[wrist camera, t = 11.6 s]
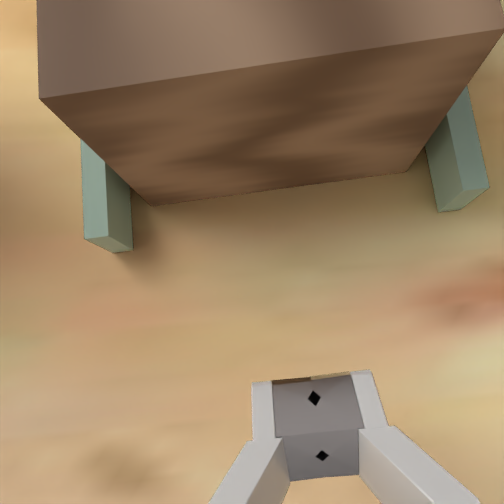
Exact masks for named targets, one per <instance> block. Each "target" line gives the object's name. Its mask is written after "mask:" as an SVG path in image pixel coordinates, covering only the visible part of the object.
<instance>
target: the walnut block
mask: <svg viewBox="0 0 504 504" xmlns="http://www.w3.org/2000/svg"><path fill="white" fill-rule="evenodd" d="M503 33H504V15H503V11H502V7H501V3H500V0H37V40H38V82H39V99H40V100H41V101H42V102H43V103H44V104H45V105H46V106H47V107H48V108H49V109H50V110H51V111H52V112H53V113H54V114H55V115H56V116H58V117H59V118H60V119H61V120H62V121H63V122H64V123H65V124H66V125H67V126H68V127H69V128H70V129H71V130H72V131H73V132H74V133H75V134H76V135H77V136H78V137H79V138H80V139H82V140H83V141H84V142H85V143H86V144H87V145H88V146H89V147H90V148H91V149H92V150H93V151H94V152H95V153H96V154H97V155H98V156H99V157H100V158H101V159H102V160H103V161H105V162H106V163H107V164H108V165H109V166H110V167H111V168H112V169H113V170H114V171H115V172H116V173H117V174H118V175H119V176H120V177H121V178H122V179H123V180H124V181H125V182H126V183H127V184H129V185H130V186H131V187H132V188H133V189H134V190H135V191H136V192H137V193H138V194H139V195H140V196H141V197H142V198H143V199H144V200H145V201H146V202H147V203H148V204H149V205H150V206H156V205H163V204H171V203H178V202H186V201H193V200H200V199H208V198H215V197H223V196H230V195H238V194H245V193H252V192H260V191H267V190H275V189H282V188H289V187H297V186H304V185H312V184H319V183H327V182H334V181H341V180H349V179H356V178H364V177H371V176H379V175H386V174H393V173H401V172H406V171H407V170H408V169H409V167H410V166H411V164H412V163H413V161H414V160H415V158H416V157H417V156H418V154H419V153H420V151H421V150H422V148H423V147H424V146H425V144H426V143H427V141H428V140H429V138H430V137H431V136H432V134H433V133H434V131H435V130H436V128H437V127H438V126H439V124H440V123H441V121H442V120H443V118H444V117H445V116H446V114H447V113H448V111H449V110H450V108H451V107H452V106H453V104H454V103H455V101H456V100H457V98H458V97H459V96H460V94H461V93H462V91H463V90H464V88H465V87H466V86H467V84H468V83H469V81H470V80H471V78H472V77H473V76H474V74H475V73H476V71H477V70H478V68H479V67H480V66H481V64H482V63H483V61H484V60H485V58H486V57H487V56H488V54H489V53H490V51H491V50H492V48H493V47H494V46H495V44H496V43H497V41H498V40H499V38H500V37H501V36H502V34H503Z"/></svg>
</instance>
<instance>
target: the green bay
mask: <svg viewBox="0 0 504 504" xmlns="http://www.w3.org/2000/svg"><path fill="white" fill-rule="evenodd" d="M425 149H426V154H427V159H428V164H429V169H430V174H431V179H432V184H433V189H434V195H435V200H436V205H437V210H438V212H444V211H452V210H460V209H462V208H463V207H464V206H466V205H467V204H468V203H470V202H471V201H472V200H474V199H475V198H476V197H478V196H479V195H480V194H482V193H483V192H484V191H486V190H487V189H488V188H490V187H489V182H488V178H487V173H486V169H485V164H484V160H483V155H482V151H481V146H480V142H479V137H478V133H477V128H476V124H475V119H474V115H473V110H472V106H471V101H470V97H469V92H468V88H467V86H466V87H465V88H464V90H463V91H462V93H461V94H460V96H459V97H458V98H457V100H456V101H455V103H454V104H453V106H452V107H451V108H450V110H449V111H448V113H447V114H446V116H445V117H444V118H443V120H442V121H441V123H440V124H439V126H438V127H437V128H436V130H435V131H434V133H433V134H432V136H431V137H430V138H429V140H428V141H427V143H426V144H425ZM81 166H82V192H83V219H84V239H85V240H87V241H89V242H91V243H93V244H95V245H98V246H100V247H102V248H104V249H106V250H108V251H110V252H112V253H115V252H123V251H131V250H133V235H132V218H131V201H130V185H129V184H127V183H126V182H125V181H124V180H123V179H122V178H121V177H120V176H119V175H118V174H117V173H116V172H115V171H114V170H113V169H112V168H111V167H110V166H109V165H108V164H107V163H106V162H105V161H103V160H102V159H101V158H100V157H99V156H98V155H97V154H96V153H95V152H94V151H93V150H92V149H91V148H90V147H89V146H88V145H87V144H86V143H85V142H84V141H83V140H82V139H81Z"/></svg>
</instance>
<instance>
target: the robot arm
mask: <svg viewBox="0 0 504 504" xmlns="http://www.w3.org/2000/svg"><path fill="white" fill-rule="evenodd" d="M251 396H252V432H253V440H252V441H247V442H246V443H245V445H244V447H243V448H242V450H241V452H240V453H239V455H238V456H237V458H236V460H235V461H234V463H233V464H232V466H231V468H230V469H229V471H228V472H227V474H226V476H225V477H224V479H223V480H222V482H221V484H220V485H219V487H218V488H217V490H216V492H215V493H214V495H213V496H212V498H211V500H210V501H209V503H208V504H282V502H283V500H284V497H285V495H286V493H287V490H288V488H289V486H290V482H291V481H299V480H307V479H314V478H322V477H335V476H349V475H359V477H360V478H361V479H362V480H363V482H364V483H365V484H366V485H367V486H368V488H369V489H370V490H371V491H372V493H373V494H374V495H375V496H376V497H377V499H378V500H379V501H380V502H381V503H382V504H480V502H479V500H478V498H477V497H476V496H475V495H474V494H472V493H471V492H470V491H469V490H468V489H467V488H466V487H464V486H463V485H462V484H461V483H460V482H459V481H458V480H456V479H455V478H454V477H453V476H452V475H451V474H450V473H448V472H447V471H446V470H445V469H444V468H443V467H442V466H440V465H439V464H438V463H437V462H436V461H435V460H434V459H432V458H431V457H430V456H429V455H428V454H427V453H426V452H425V451H423V450H422V449H421V448H420V447H419V446H418V445H417V444H415V443H414V442H413V441H412V440H411V439H410V438H409V437H407V436H406V435H405V434H404V433H403V432H402V431H401V430H399V429H398V428H397V427H396V426H389V425H388V422H387V419H386V416H385V412H384V409H383V406H382V403H381V400H380V397H379V393H378V390H377V387H376V384H375V381H374V378H373V375H372V372H371V371H370V370H362V371H353V372H341V373H333V374H325V375H317V376H310V377H306V378H294V379H283V380H272V381H262V382H252V387H251Z"/></svg>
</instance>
